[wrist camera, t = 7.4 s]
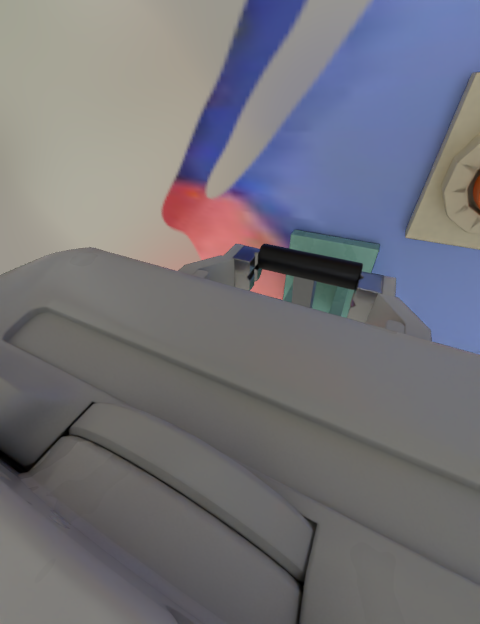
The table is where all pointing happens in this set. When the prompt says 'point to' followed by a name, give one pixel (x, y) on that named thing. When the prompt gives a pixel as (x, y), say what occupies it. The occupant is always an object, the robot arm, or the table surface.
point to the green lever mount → (347, 249)
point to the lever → (309, 270)
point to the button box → (453, 181)
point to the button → (477, 191)
